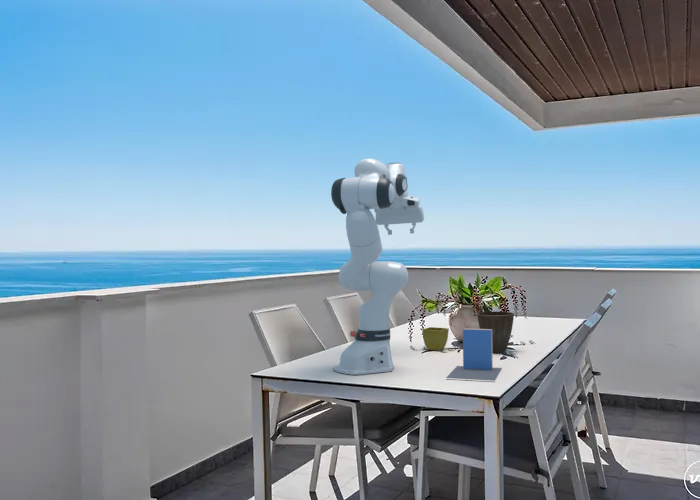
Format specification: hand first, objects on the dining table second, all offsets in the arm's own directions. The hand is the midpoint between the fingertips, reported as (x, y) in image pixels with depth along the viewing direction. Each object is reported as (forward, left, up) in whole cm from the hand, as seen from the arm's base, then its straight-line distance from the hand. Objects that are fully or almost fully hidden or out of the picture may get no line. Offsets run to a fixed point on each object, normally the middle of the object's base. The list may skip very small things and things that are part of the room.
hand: (401, 233), depth 273 cm
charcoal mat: (-13, -53, -50) cm, 74 cm away
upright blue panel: (-7, -49, -49) cm, 69 cm away
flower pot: (+13, -6, -50) cm, 52 cm away
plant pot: (+28, -26, -50) cm, 63 cm away
